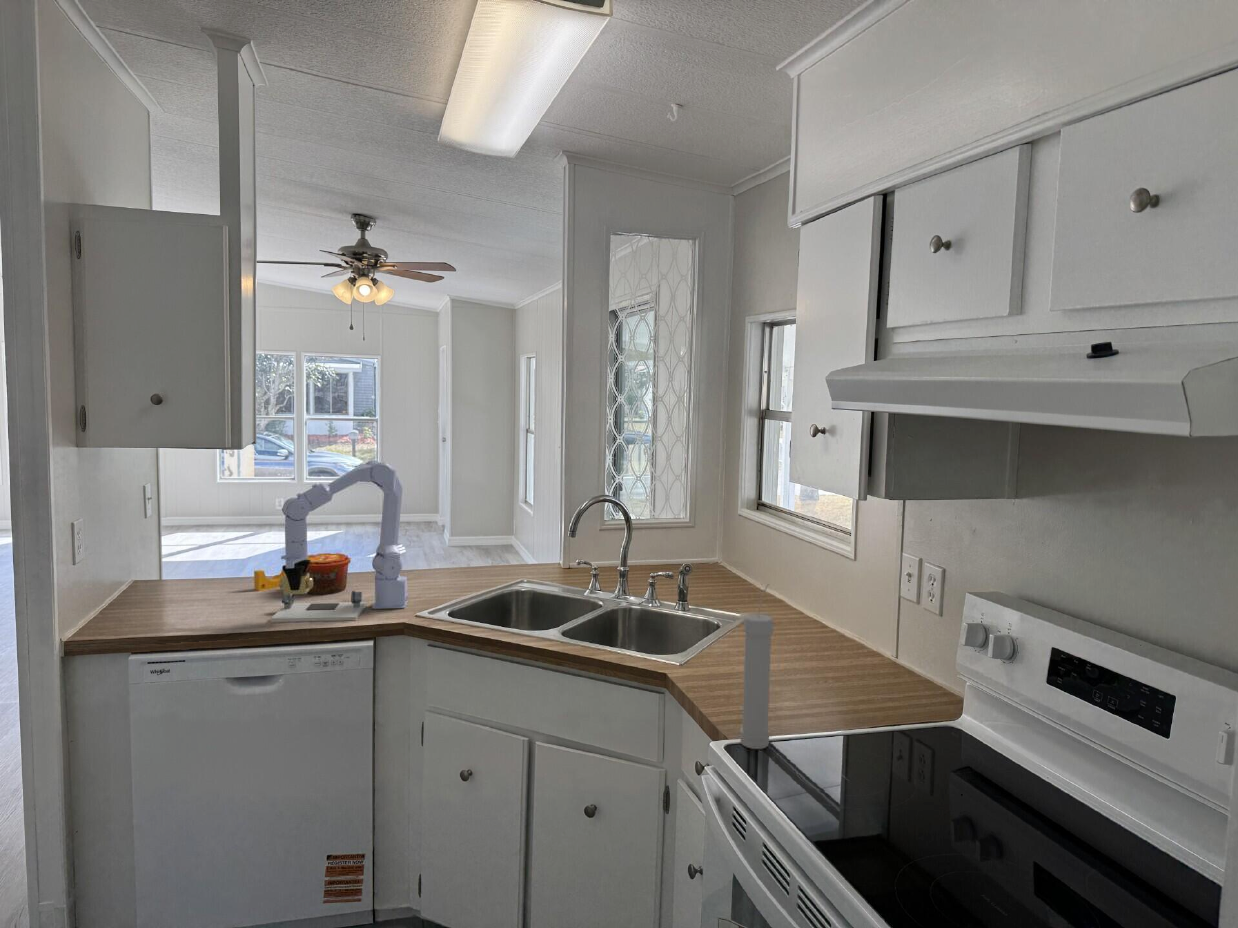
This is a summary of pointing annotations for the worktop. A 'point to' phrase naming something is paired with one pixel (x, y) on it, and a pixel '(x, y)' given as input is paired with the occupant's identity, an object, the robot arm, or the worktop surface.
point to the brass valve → (304, 587)
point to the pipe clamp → (266, 580)
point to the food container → (328, 572)
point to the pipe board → (319, 610)
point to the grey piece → (756, 680)
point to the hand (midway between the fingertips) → (297, 587)
